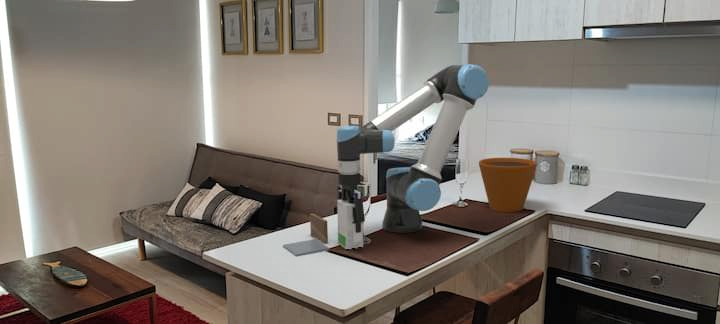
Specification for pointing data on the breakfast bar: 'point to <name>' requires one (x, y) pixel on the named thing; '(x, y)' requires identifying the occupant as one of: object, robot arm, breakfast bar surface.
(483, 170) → the flower pot
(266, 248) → the breakfast bar surface
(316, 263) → the breakfast bar surface
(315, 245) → the slate coaster
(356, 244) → the skincare box
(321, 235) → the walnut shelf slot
